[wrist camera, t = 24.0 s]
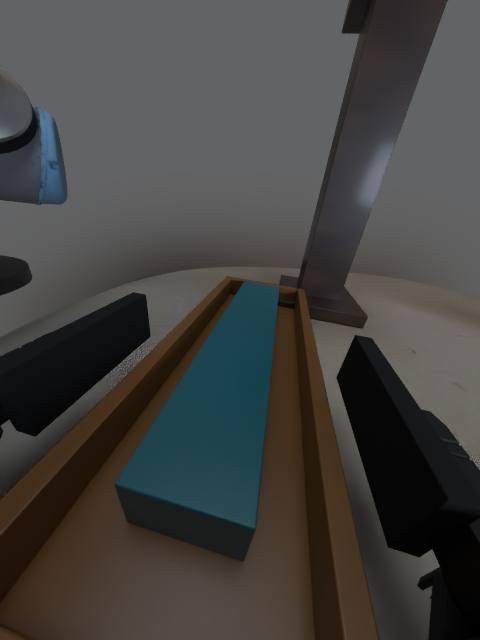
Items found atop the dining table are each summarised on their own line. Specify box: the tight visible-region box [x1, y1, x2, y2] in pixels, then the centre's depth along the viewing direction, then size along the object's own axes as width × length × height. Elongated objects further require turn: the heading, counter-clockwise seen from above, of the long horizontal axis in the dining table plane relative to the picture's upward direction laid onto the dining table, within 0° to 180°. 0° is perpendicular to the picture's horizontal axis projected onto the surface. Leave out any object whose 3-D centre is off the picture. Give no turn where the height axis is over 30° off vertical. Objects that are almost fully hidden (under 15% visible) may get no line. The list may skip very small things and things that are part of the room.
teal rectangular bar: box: [114, 282, 279, 561], centre depth 15 cm, size 4×20×2 cm, turn 169°
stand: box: [278, 0, 448, 328], centre depth 22 cm, size 10×12×30 cm
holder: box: [0, 276, 380, 640], centre depth 15 cm, size 10×26×3 cm, turn 168°
